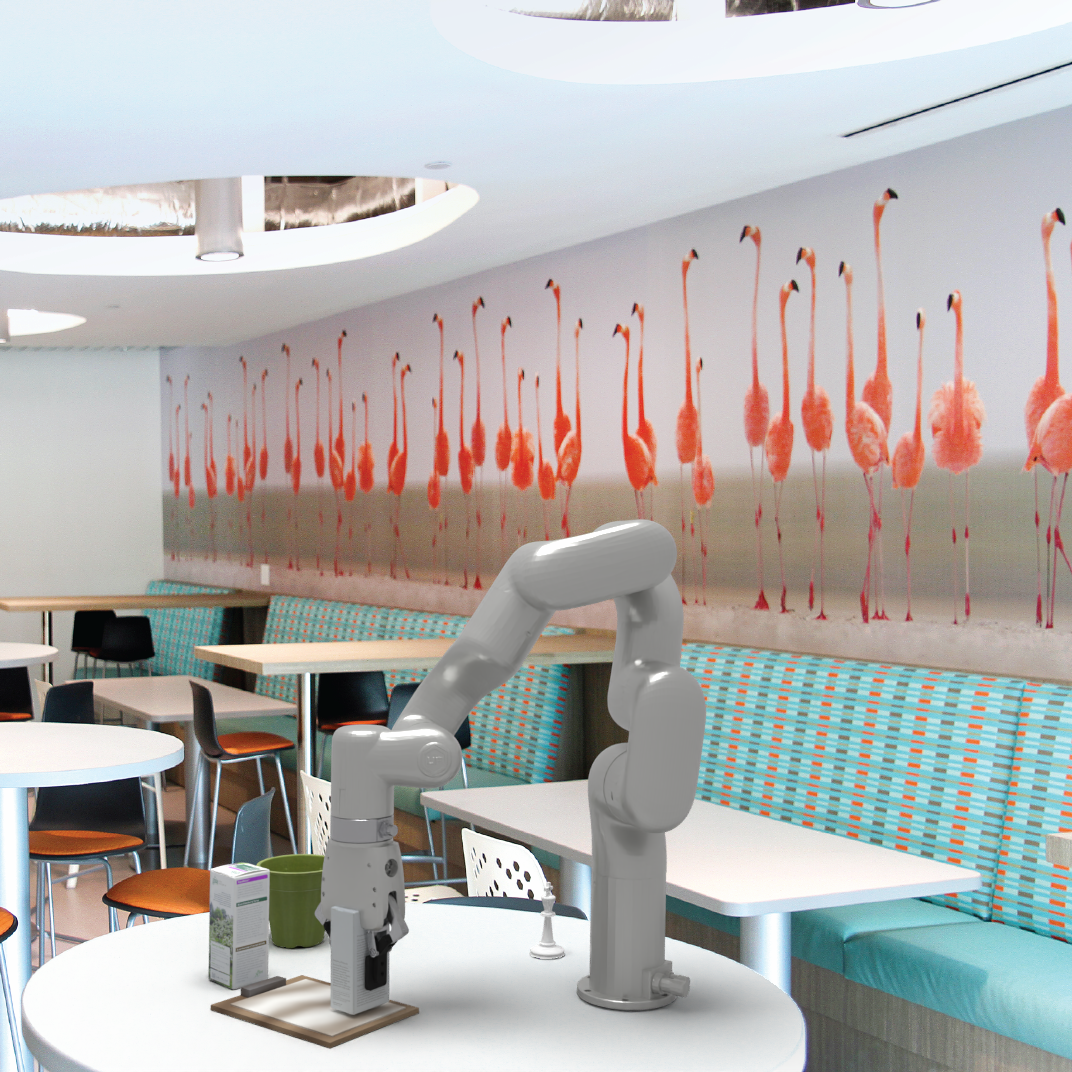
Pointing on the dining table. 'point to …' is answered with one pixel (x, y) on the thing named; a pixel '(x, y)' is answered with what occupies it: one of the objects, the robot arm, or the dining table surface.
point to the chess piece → (547, 930)
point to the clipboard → (307, 1010)
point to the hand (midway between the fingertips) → (359, 981)
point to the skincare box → (351, 964)
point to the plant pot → (295, 899)
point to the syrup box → (239, 924)
